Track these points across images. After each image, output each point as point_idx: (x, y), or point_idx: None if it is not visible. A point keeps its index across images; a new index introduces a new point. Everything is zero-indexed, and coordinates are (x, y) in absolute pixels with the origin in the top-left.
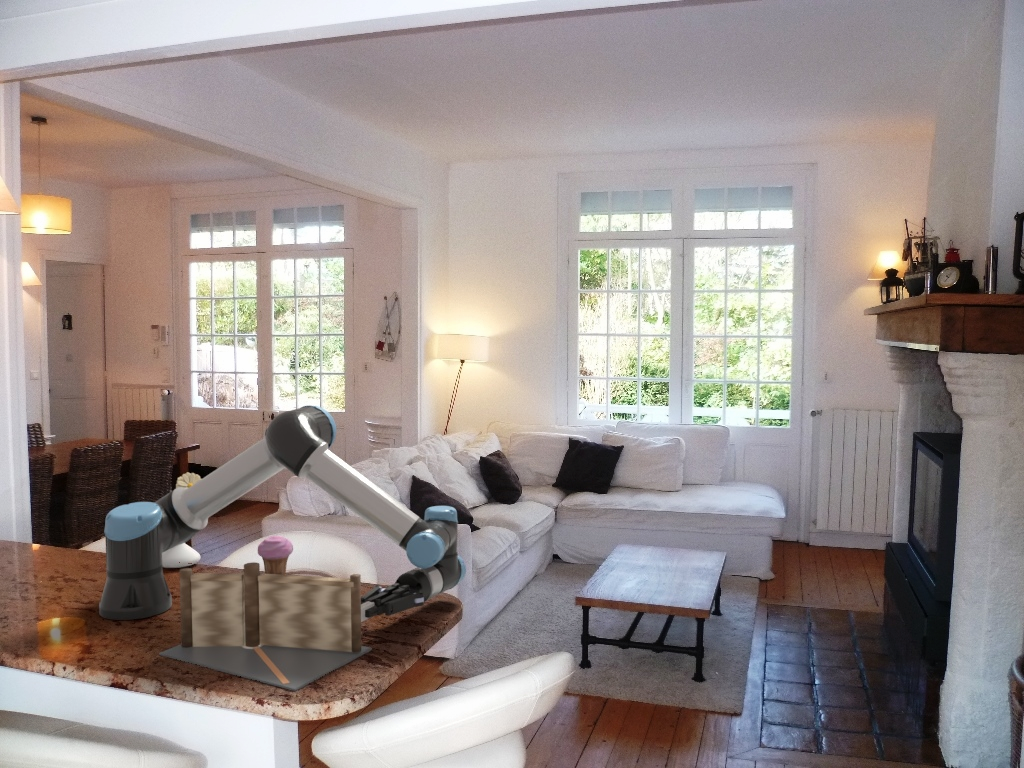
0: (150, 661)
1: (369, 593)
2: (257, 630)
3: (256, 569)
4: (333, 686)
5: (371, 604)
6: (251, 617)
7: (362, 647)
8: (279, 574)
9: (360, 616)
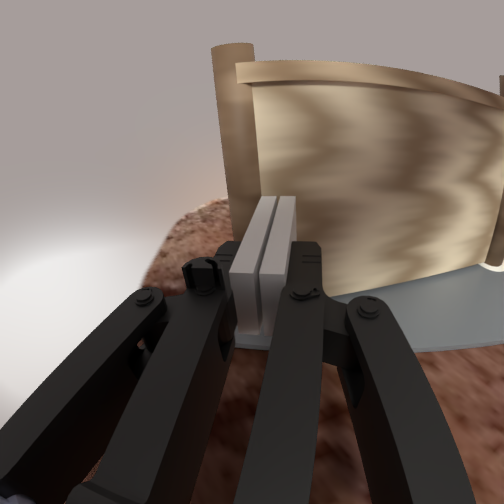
0: None
1: (416, 422)
2: None
3: (501, 83)
4: (228, 220)
5: (236, 257)
6: None
7: (260, 336)
8: (487, 91)
9: (229, 201)
